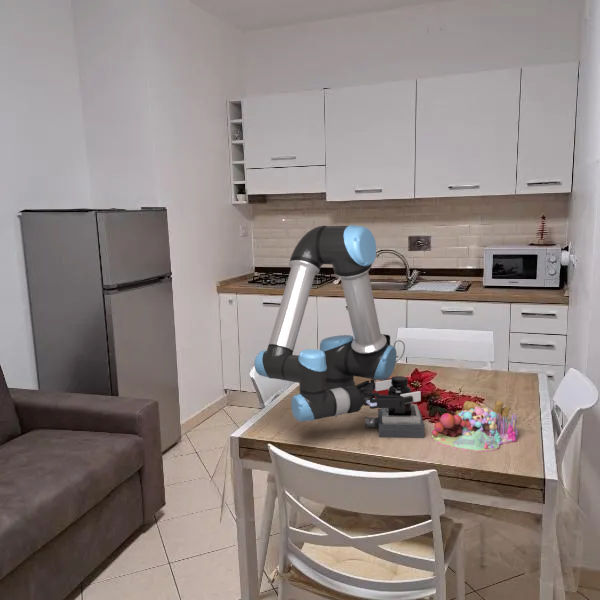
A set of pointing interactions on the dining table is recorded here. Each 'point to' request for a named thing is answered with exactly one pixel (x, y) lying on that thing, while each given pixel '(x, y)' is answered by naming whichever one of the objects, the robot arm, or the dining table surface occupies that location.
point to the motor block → (398, 424)
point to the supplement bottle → (397, 389)
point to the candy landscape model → (476, 428)
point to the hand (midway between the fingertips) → (406, 389)
